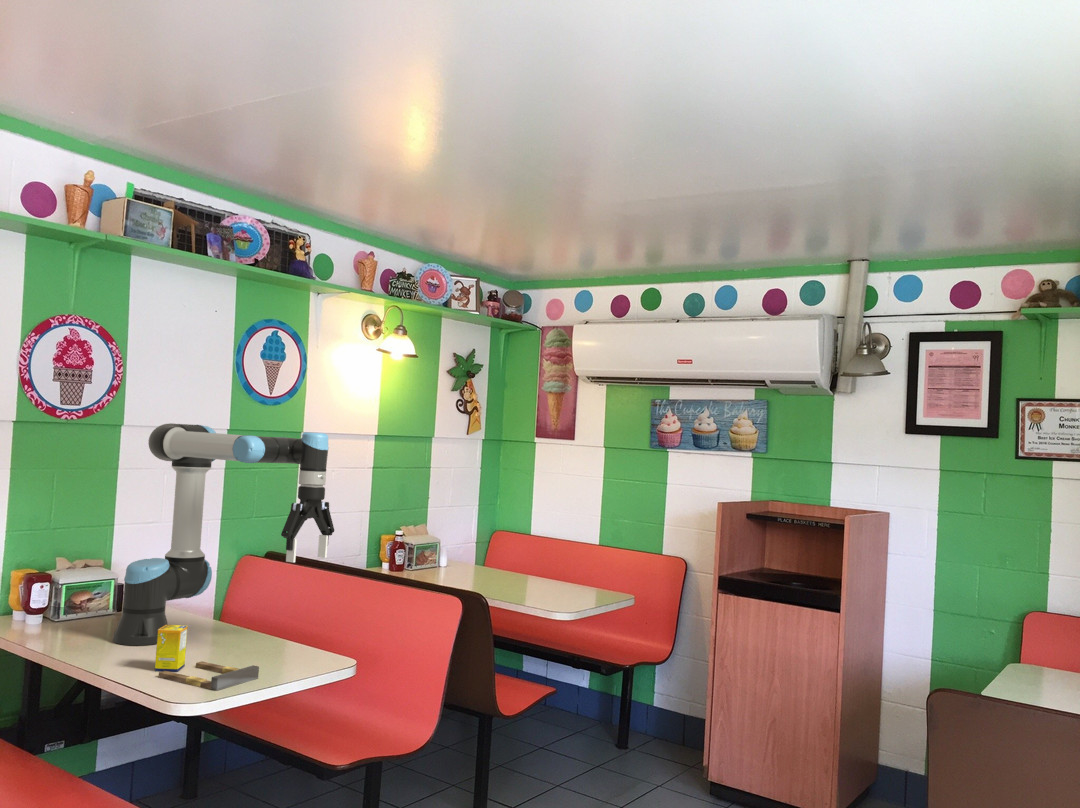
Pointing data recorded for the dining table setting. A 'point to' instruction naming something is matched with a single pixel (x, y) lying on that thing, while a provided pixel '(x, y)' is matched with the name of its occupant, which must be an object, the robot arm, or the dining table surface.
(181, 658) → the supplement box
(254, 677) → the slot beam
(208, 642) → the dining table surface
